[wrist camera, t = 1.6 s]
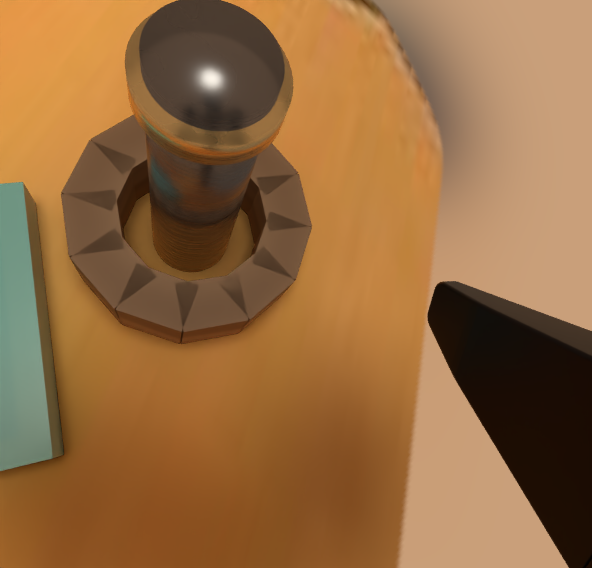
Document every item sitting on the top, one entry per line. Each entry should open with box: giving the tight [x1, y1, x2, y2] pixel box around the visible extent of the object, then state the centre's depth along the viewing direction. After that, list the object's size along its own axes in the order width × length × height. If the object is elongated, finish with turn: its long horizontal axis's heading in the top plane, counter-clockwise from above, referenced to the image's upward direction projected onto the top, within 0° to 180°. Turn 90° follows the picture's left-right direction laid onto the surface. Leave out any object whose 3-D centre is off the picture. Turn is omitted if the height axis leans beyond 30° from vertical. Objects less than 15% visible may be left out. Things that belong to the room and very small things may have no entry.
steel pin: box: [125, 0, 293, 272], centre depth 17 cm, size 4×4×12 cm
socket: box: [61, 115, 312, 344], centre depth 21 cm, size 10×10×3 cm
